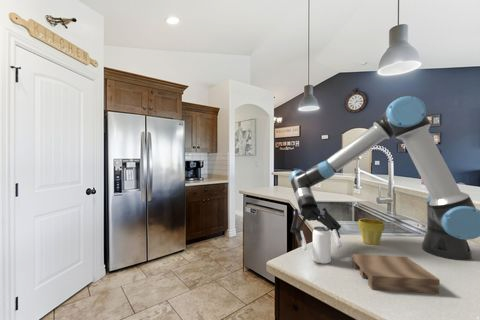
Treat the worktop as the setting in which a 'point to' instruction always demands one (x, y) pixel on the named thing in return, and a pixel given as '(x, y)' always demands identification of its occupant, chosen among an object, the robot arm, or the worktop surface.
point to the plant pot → (371, 230)
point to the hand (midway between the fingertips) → (322, 247)
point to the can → (321, 245)
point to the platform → (395, 273)
